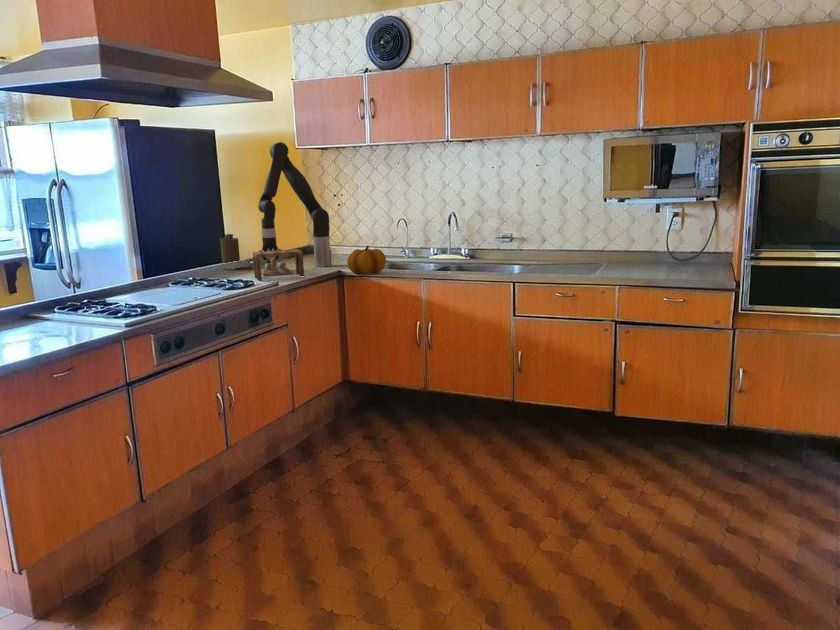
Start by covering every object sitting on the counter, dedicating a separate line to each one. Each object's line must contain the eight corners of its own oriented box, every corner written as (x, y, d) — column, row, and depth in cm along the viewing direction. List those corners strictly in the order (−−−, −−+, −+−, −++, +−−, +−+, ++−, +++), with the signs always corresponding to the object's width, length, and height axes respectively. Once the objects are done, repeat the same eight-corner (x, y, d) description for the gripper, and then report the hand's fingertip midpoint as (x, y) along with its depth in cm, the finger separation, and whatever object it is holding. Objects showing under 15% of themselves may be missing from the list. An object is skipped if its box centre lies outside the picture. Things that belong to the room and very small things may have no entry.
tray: (282, 268, 379) (281, 254, 378) (289, 274, 358) (288, 259, 357) (258, 270, 374) (257, 256, 373) (263, 276, 353) (262, 261, 352)
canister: (244, 267, 389) (241, 233, 385) (234, 270, 379) (231, 235, 375) (228, 267, 393) (225, 233, 388) (218, 269, 383) (214, 235, 379)
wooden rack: (299, 273, 358) (298, 249, 355) (304, 276, 347) (302, 251, 344) (254, 277, 349) (252, 252, 347) (257, 280, 338) (255, 254, 336)
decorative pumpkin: (387, 269, 364) (386, 242, 361) (384, 276, 342) (383, 247, 339) (350, 270, 364) (349, 243, 361) (345, 277, 343) (344, 248, 340)
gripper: (280, 235, 374) (282, 265, 378) (255, 236, 370) (258, 267, 373) (282, 236, 367) (284, 267, 371) (257, 237, 363) (260, 269, 367)
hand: (271, 267), depth 372 cm, fingers closed on tray
